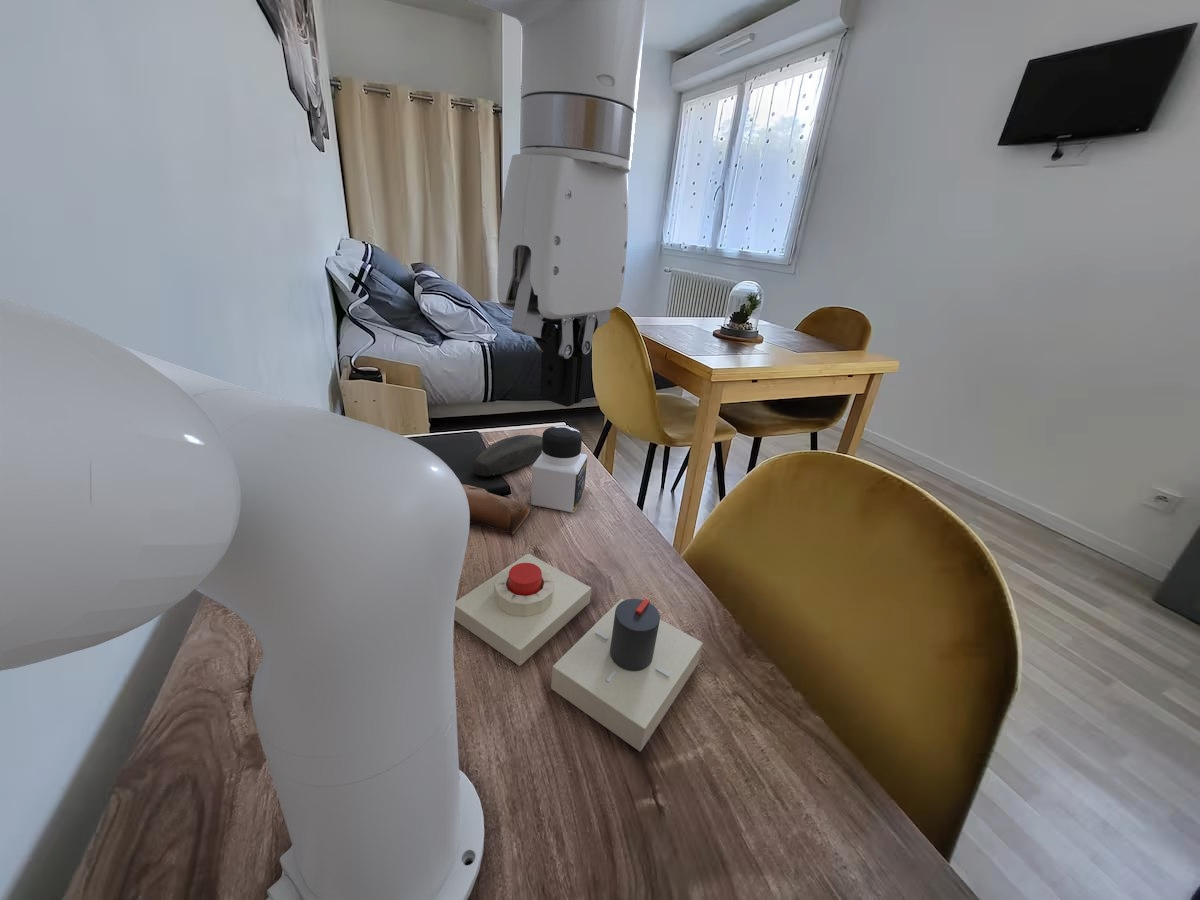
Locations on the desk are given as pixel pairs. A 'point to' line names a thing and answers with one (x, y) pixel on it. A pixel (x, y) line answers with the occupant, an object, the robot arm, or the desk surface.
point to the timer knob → (634, 634)
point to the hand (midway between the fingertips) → (560, 400)
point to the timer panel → (625, 679)
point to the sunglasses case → (495, 510)
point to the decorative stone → (508, 455)
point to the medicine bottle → (559, 470)
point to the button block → (521, 610)
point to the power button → (525, 579)
